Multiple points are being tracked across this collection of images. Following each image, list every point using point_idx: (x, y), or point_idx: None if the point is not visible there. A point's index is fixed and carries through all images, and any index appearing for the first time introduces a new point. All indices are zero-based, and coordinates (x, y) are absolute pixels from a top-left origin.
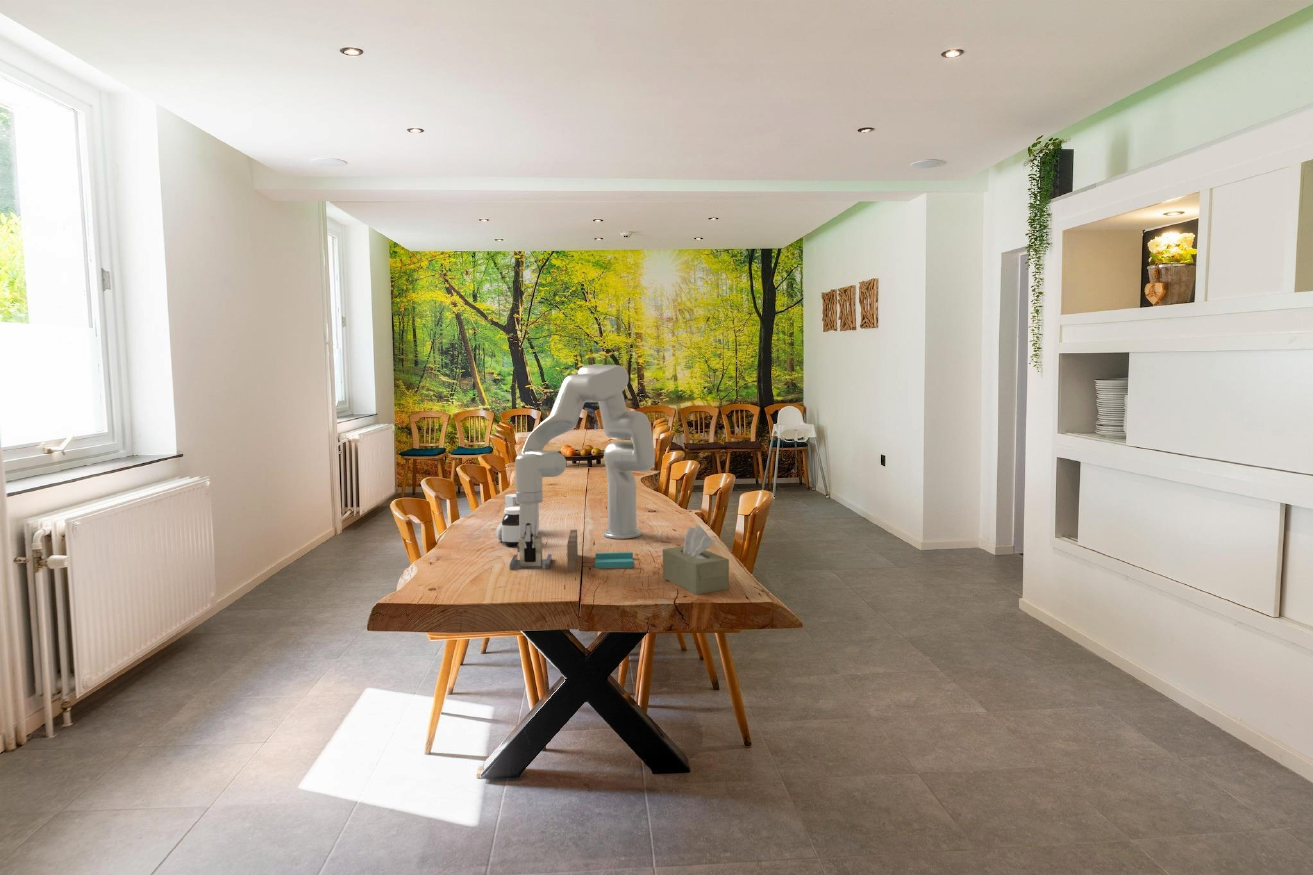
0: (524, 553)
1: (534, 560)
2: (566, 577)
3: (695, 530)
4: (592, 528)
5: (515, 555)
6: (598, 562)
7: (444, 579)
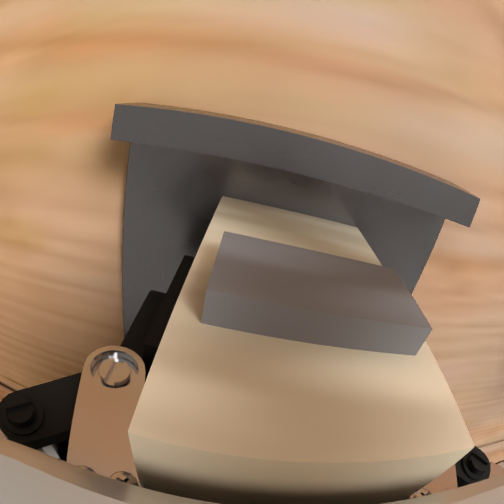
0: (162, 302)
1: None
2: (21, 368)
3: None
4: None
5: (460, 206)
6: None
7: None
